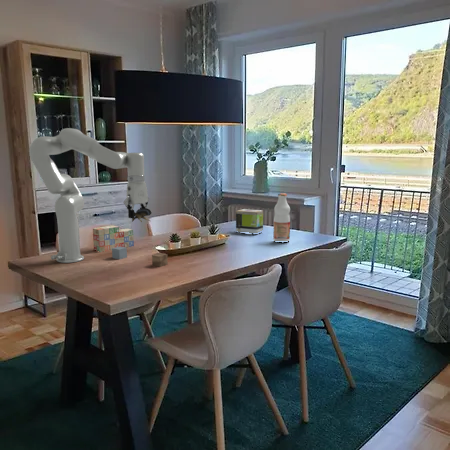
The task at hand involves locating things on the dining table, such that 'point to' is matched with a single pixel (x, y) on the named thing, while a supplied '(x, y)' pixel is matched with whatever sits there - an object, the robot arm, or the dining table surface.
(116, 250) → the slate grey block
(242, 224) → the tea box
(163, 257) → the walnut block
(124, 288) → the dining table surface
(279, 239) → the fruit juice
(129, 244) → the stack of blocks
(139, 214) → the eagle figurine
